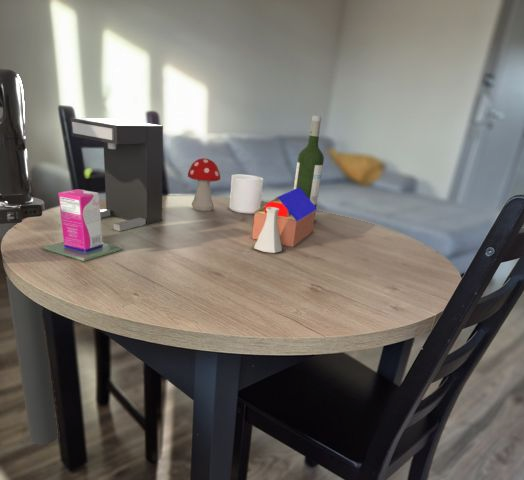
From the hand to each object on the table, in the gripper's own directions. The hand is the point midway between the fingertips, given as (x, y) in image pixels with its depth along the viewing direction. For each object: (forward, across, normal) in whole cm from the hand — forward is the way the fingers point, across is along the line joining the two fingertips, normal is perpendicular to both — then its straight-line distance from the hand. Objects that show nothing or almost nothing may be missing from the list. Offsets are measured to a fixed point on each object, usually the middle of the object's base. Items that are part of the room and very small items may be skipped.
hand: (32, 204), depth 94 cm
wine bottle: (+84, +2, +11) cm, 84 cm away
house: (+63, -9, +11) cm, 65 cm away
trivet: (+9, -1, +10) cm, 14 cm away
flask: (+49, -17, +10) cm, 53 cm away
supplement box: (+9, -1, +10) cm, 13 cm away
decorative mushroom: (+60, +24, +11) cm, 65 cm away
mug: (+74, +19, +11) cm, 77 cm away
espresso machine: (+29, +19, +10) cm, 36 cm away
